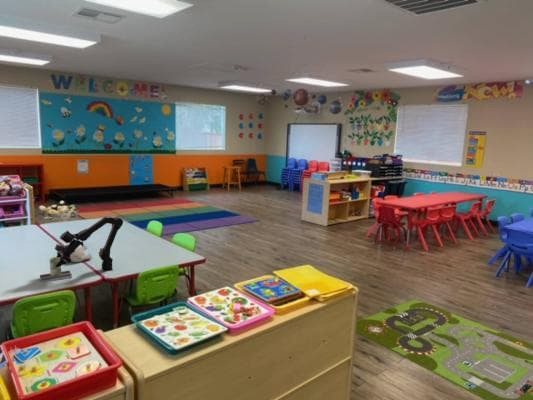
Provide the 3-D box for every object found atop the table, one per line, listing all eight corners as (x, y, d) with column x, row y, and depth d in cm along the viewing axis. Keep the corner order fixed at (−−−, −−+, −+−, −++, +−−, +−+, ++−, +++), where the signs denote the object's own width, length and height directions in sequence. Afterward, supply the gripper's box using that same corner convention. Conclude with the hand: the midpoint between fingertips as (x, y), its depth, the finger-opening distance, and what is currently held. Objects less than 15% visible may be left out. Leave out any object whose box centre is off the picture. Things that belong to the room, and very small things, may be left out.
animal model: (76, 234, 312) (56, 239, 299) (94, 252, 301) (74, 258, 288) (74, 247, 317) (54, 253, 305) (92, 265, 306) (72, 272, 294)
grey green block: (60, 274, 268) (59, 257, 266) (61, 276, 265) (60, 258, 263) (50, 276, 265) (49, 258, 263) (51, 278, 262) (50, 260, 260)
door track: (69, 273, 275) (69, 269, 274) (72, 277, 267) (71, 274, 266) (39, 277, 264) (39, 274, 264) (41, 282, 256) (41, 279, 256)
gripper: (59, 236, 271) (42, 254, 267) (64, 243, 256) (46, 262, 252) (73, 246, 277) (56, 263, 273) (78, 253, 262) (61, 272, 258)
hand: (54, 265), depth 264 cm, fingers open, 9 cm apart
